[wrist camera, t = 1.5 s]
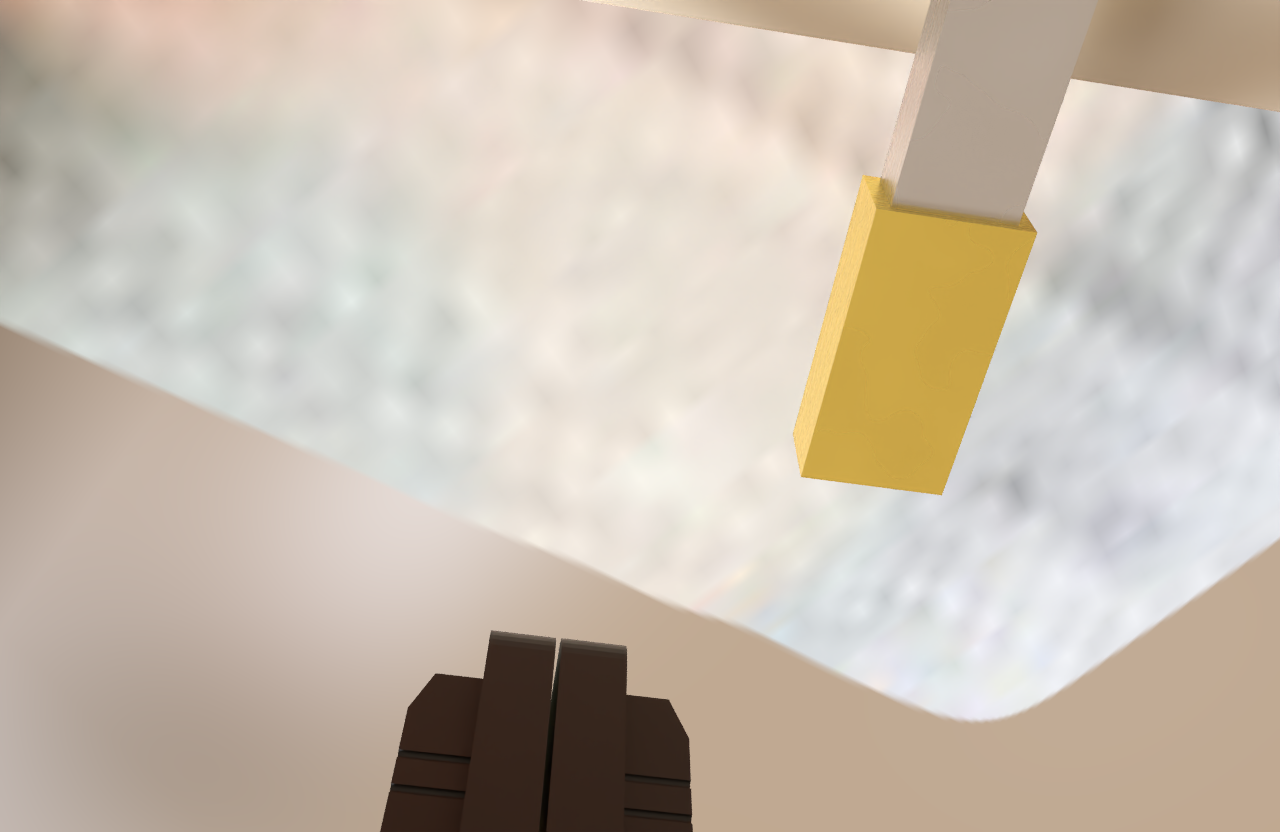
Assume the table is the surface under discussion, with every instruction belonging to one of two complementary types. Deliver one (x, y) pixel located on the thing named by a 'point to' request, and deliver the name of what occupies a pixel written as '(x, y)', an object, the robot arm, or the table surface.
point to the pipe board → (1111, 52)
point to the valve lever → (937, 245)
